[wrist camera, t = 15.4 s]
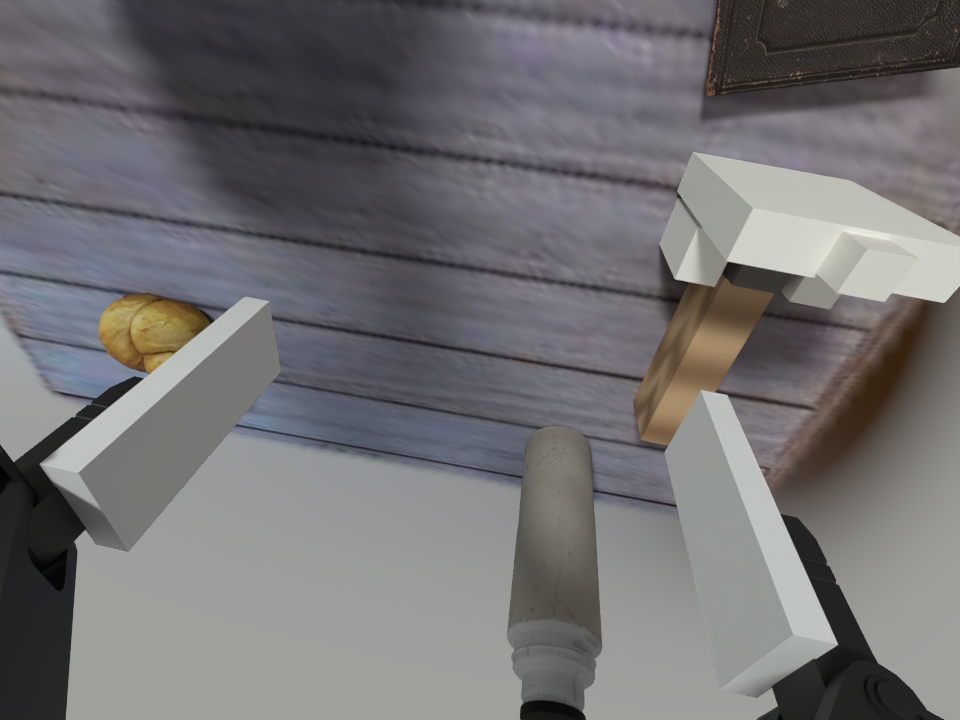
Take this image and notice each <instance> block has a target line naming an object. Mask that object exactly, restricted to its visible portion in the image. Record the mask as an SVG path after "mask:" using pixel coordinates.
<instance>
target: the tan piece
mask: <svg viewBox="0 0 960 720" xmlns="http://www.w3.org/2000/svg"><path fill="white" fill-rule="evenodd" d="M791 275H792V274H791V273H785V272H780V271H775V270H770V269H765V268H759V267H754V266H749V265H744V264H739V263H733V262H727V264H726V266H725V268H724V270H723V272H722V274H721V276H720V278H719V280H718V282H717V284H716V286H715V287H712V286H707V285H702V284H697V283H692V282H689V283H688V286H687V288H686V290H685V292H684V294H683V296H682V298H681V301H680V303H679V305H678V307H677V309H676V311H675V313H674V315H673V318H672V320H671V322H670V324H669V326H668V328H667V330H666V333H665V335H664V337H663V339H662V341H661V343H660V345H659V347H658V350H657V352H656V354H655V356H654V358H653V360H652V362H651V365H650V367H649V369H648V371H647V373H646V375H645V377H644V379H643V382H642V384H641V386H640V388H639V390H638V392H637V394H636V397H635V399H634V406H635V411H636V417H637V422H638V428H639V434H640V439H641V440H643V441H648V442H652V443H657V444H662V445H667V446H668V445H669V444H670V442H671V440H672V438H673V437H674V435H675V433H676V432H677V430H678V428H679V426H680V425H681V423H682V421H683V420H684V418H685V416H686V414H687V413H688V411H689V409H690V407H691V406H692V404H693V402H694V401H695V399H696V397H697V395H698V394H699V392H700V390H704V391H709V392H714V393H715V391H716V389H717V388H718V386H719V385H720V383H721V381H722V380H723V378H724V376H725V375H726V373H727V371H728V370H729V368H730V366H731V365H732V363H733V362H734V360H735V358H736V357H737V355H738V353H739V352H740V350H741V348H742V347H743V345H744V343H745V342H746V340H747V339H748V337H749V335H750V334H751V332H752V330H753V329H754V327H755V325H756V324H757V322H758V320H759V319H760V317H761V316H762V314H763V312H764V311H765V309H766V307H767V306H768V304H769V302H770V301H771V299H772V297H773V296H774V294H780V293H781V291H782V289H783V288H784V286H785V285H786V283H787V281H788V280H789V278H790V276H791Z"/></svg>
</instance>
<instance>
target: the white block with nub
mask: <svg viewBox="0 0 960 720" xmlns="http://www.w3.org/2000/svg"><path fill="white" fill-rule="evenodd" d="M677 192H678V193H679V195H680V196H681V198H682V199H680V198H677V201H676V203H675V206H674V208H673V211H672V213H671V216H670V218H669V221H668V223H667V226H666V228H665V231H664V233H663V236H662V238H661V241H660V243H659V245H660V247H661V249H662V252H663V254H664V256H665V258H666V261H667V263H668V265H669V268H670V270H671V272H672V274H673V277H674V279H676V280H681V281H686V282H692V283H697V284H702V285H707V286H712V287H715V286H716V284H717V282H718V280H719V278H720V276H721V274H722V272H723V270H724V268H725V266H726V264H727V262H733V263H739V264H744V265H749V266H754V267H759V268H765V269H770V270H775V271H780V272H785V273H791V274H792V275H791V276H790V278H789V280H788V281H787V283H786V285H785V286H784V288H783V289H782V291H781V292H782V293H783V295H784V296H785V297H786V298H787V299H788V301H789V302H794V303H799V304H805V305H810V306H815V307H820V308H825V309H831V308H832V306H833V305H834V303H835V302H836V301H837V299H838V298H839V296H840V295H841V294H845V295H850V296H855V297H861V298H866V299H871V300H876V301H881V302H885V301H886V300H887V298H888V297H889V296H890V294H891V293H895V294H900V295H905V296H910V297H916V298H921V299H926V300H931V301H937V302H942V303H945V302H946V301H947V300H948V299H949V297H950V296H951V295H952V294H953V293H954V292H955V290H956V289H957V288H958V287H959V286H960V237H959V236H957V235H955V234H953V233H951V232H949V231H947V230H945V229H943V228H941V227H939V226H937V225H935V224H934V223H932V222H930V221H928V220H926V219H924V218H922V217H920V216H918V215H916V214H914V213H912V212H910V211H908V210H906V209H904V208H902V207H901V206H899V205H897V204H895V203H893V202H891V201H889V200H887V199H885V198H883V197H881V196H879V195H877V194H875V193H873V192H871V191H869V190H868V189H866V188H864V187H862V186H860V185H858V184H856V183H854V182H852V181H850V180H844V179H839V178H833V177H828V176H822V175H817V174H811V173H806V172H800V171H795V170H790V169H784V168H779V167H773V166H768V165H762V164H757V163H751V162H746V161H740V160H735V159H729V158H724V157H718V156H713V155H707V154H702V153H696V152H692V155H691V157H690V160H689V162H688V165H687V167H686V170H685V172H684V175H683V177H682V180H681V182H680V185H679V187H678V190H677Z"/></svg>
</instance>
